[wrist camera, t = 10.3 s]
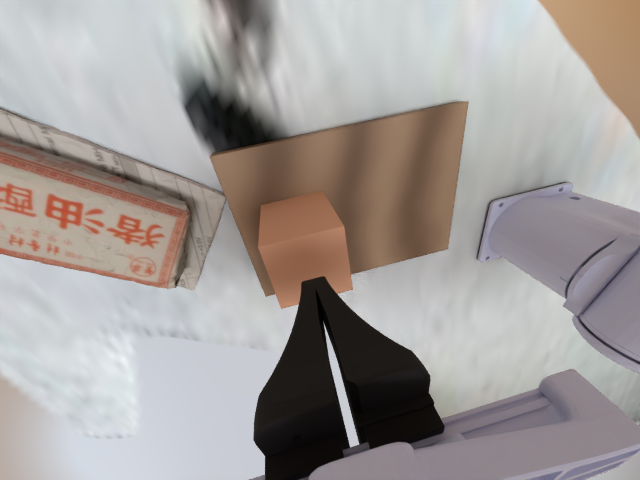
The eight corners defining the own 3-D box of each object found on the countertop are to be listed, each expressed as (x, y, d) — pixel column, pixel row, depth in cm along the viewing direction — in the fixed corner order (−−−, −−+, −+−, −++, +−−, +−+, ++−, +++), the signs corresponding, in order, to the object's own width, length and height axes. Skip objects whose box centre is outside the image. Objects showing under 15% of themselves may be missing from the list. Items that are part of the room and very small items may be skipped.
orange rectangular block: (322, 190, 20) (344, 225, 14) (331, 242, 22) (352, 289, 17) (260, 205, 19) (258, 247, 14) (277, 256, 22) (281, 308, 16)
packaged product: (-176, 254, 13) (-260, 51, 9) (-69, 217, 17) (-97, 66, 13) (184, 317, 20) (220, 214, 16) (199, 280, 24) (229, 191, 20)
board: (457, 101, 19) (468, 101, 18) (440, 243, 27) (447, 248, 26) (212, 153, 18) (209, 156, 17) (265, 288, 25) (265, 296, 24)
